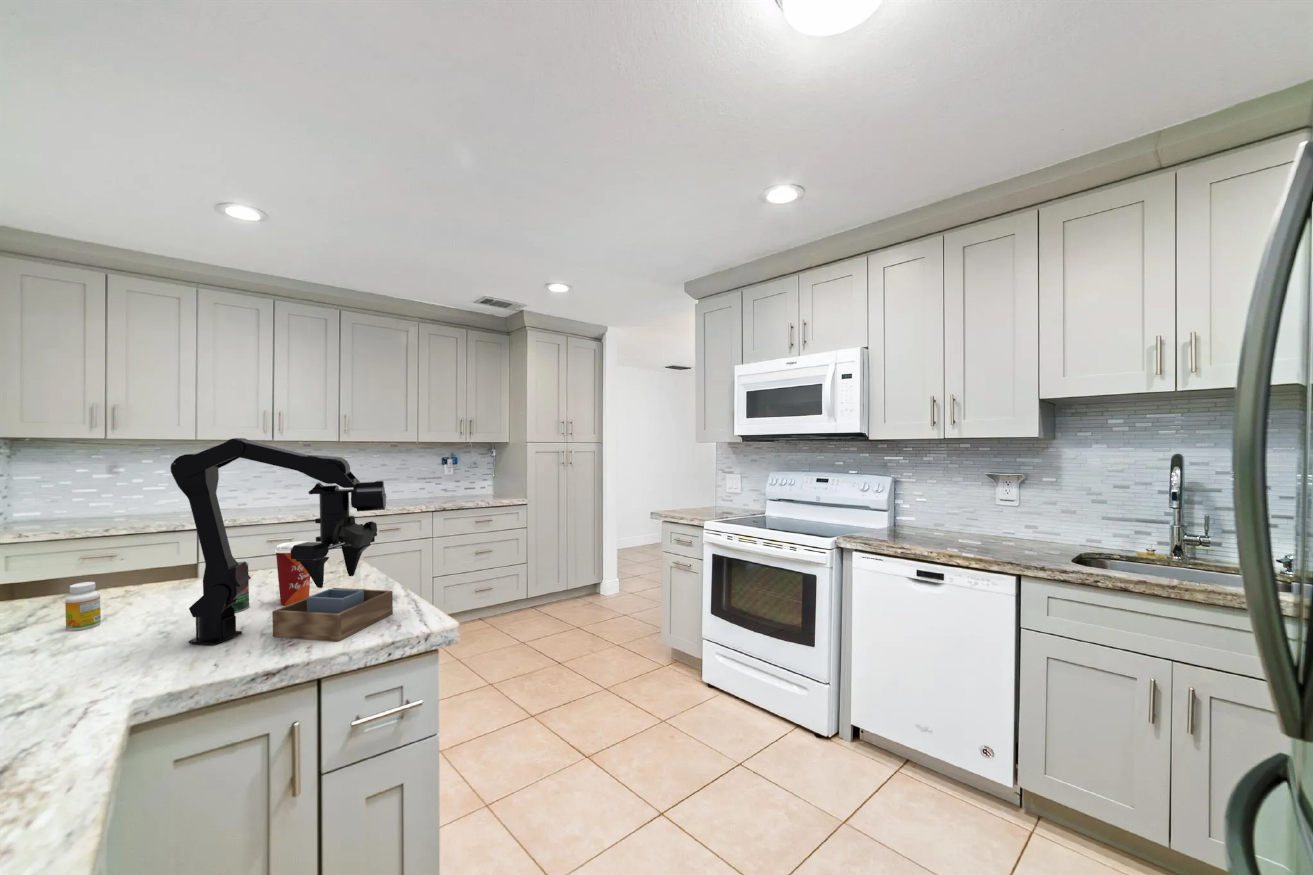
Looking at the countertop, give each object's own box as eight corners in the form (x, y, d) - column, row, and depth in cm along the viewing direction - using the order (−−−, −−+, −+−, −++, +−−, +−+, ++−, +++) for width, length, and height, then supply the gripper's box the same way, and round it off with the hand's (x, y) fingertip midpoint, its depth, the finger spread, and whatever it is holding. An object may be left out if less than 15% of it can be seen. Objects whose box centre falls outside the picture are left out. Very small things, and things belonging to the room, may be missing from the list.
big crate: (272, 636, 115) (272, 611, 114) (334, 610, 131) (333, 587, 131) (338, 641, 112) (338, 615, 112) (392, 613, 128) (392, 590, 128)
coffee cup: (299, 607, 134) (298, 547, 133) (267, 607, 134) (266, 547, 134) (321, 596, 142) (320, 540, 142) (290, 596, 142) (289, 540, 142)
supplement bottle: (61, 629, 120) (60, 585, 120) (95, 621, 125) (94, 579, 125) (71, 633, 118) (69, 589, 117) (104, 625, 122) (103, 582, 122)
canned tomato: (214, 607, 134) (213, 563, 134) (253, 603, 137) (252, 560, 137) (203, 617, 127) (202, 571, 127) (244, 612, 130) (243, 567, 130)
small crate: (307, 624, 119) (306, 597, 119) (330, 614, 125) (329, 588, 125) (342, 626, 117) (342, 599, 117) (364, 616, 124) (363, 590, 124)
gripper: (334, 520, 110) (335, 596, 111) (394, 507, 129) (395, 572, 129) (287, 519, 112) (289, 593, 113) (353, 506, 131) (354, 570, 131)
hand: (336, 581), depth 121 cm, fingers open, 9 cm apart
